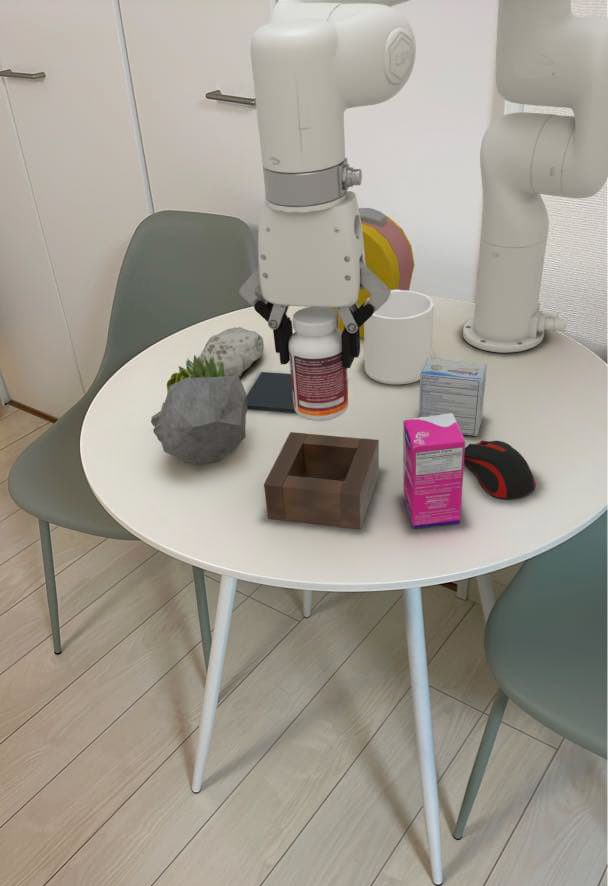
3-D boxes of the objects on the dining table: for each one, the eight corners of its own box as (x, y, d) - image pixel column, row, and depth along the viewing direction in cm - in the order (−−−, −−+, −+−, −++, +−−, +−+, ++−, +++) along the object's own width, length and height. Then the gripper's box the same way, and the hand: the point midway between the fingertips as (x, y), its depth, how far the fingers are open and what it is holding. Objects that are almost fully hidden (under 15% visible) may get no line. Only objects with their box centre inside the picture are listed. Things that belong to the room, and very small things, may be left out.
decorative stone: (202, 349, 124) (197, 321, 121) (267, 347, 123) (264, 318, 120) (189, 386, 115) (183, 356, 112) (259, 384, 114) (256, 354, 111)
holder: (378, 473, 95) (378, 439, 91) (360, 529, 86) (359, 494, 83) (293, 464, 97) (290, 431, 94) (267, 518, 89) (263, 484, 86)
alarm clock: (414, 323, 126) (417, 209, 114) (392, 343, 121) (393, 226, 109) (336, 309, 133) (332, 199, 121) (313, 328, 128) (305, 215, 116)
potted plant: (143, 464, 94) (124, 382, 102) (224, 489, 102) (201, 412, 110) (198, 399, 87) (173, 317, 95) (279, 431, 96) (250, 354, 104)
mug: (434, 383, 111) (437, 317, 104) (366, 386, 111) (364, 321, 105) (425, 345, 120) (428, 281, 113) (363, 348, 121) (361, 285, 114)
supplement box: (401, 499, 90) (402, 417, 83) (449, 494, 90) (455, 411, 83) (410, 530, 86) (412, 445, 78) (461, 524, 86) (469, 439, 78)
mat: (337, 380, 113) (337, 377, 113) (321, 415, 106) (321, 411, 106) (262, 375, 116) (261, 371, 116) (241, 408, 109) (240, 404, 109)
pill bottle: (359, 410, 84) (357, 315, 77) (313, 429, 81) (307, 333, 74) (328, 390, 88) (323, 298, 81) (283, 407, 85) (274, 314, 78)
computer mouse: (496, 445, 97) (499, 418, 95) (544, 491, 89) (549, 463, 87) (453, 457, 96) (455, 430, 93) (498, 505, 88) (501, 477, 85)
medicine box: (482, 420, 102) (488, 362, 96) (477, 438, 99) (482, 379, 93) (424, 414, 104) (427, 356, 99) (417, 430, 101) (419, 372, 96)
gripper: (405, 170, 70) (403, 348, 81) (230, 171, 74) (252, 340, 86) (391, 196, 64) (391, 383, 76) (203, 196, 69) (231, 372, 80)
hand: (318, 358), depth 81 cm, fingers closed on pill bottle, 6 cm apart
